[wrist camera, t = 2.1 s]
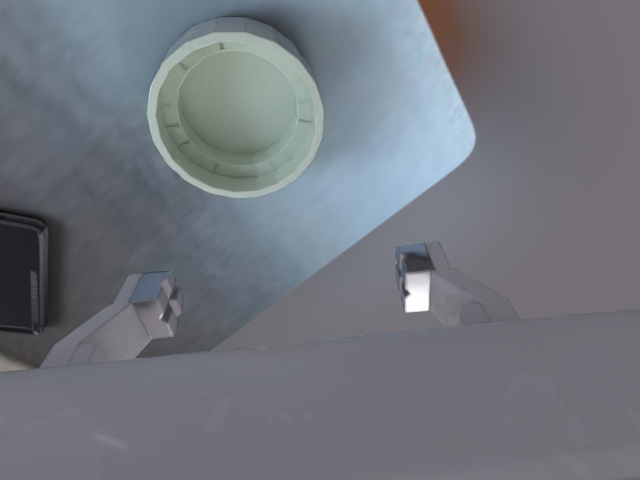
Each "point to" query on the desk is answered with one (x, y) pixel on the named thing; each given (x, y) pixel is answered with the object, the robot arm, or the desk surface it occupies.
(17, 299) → the phone
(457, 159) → the desk surface
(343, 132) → the desk surface
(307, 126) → the bowl
